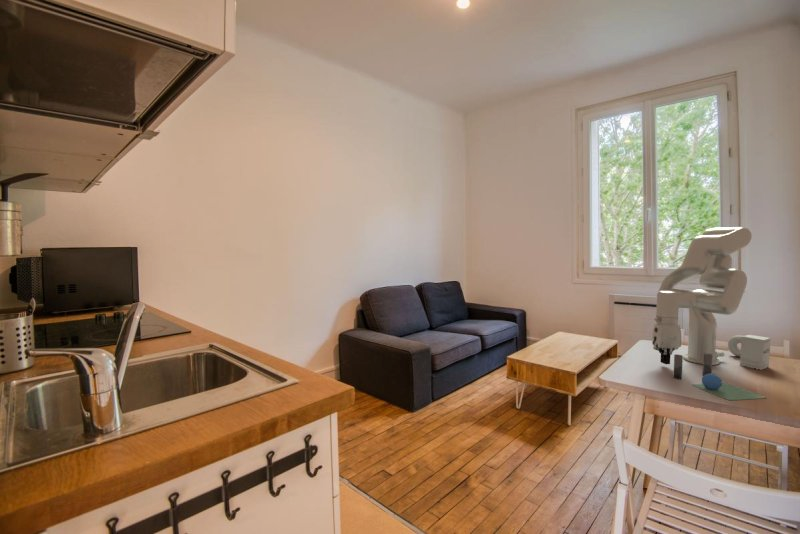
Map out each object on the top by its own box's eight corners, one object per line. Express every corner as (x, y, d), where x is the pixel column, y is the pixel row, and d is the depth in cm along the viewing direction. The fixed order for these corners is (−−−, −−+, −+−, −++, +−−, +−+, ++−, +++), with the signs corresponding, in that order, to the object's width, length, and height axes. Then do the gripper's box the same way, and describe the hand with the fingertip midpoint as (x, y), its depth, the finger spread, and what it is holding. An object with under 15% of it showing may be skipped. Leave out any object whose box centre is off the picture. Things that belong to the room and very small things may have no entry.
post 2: (706, 375, 150) (707, 352, 149) (713, 377, 147) (714, 354, 147) (700, 375, 150) (701, 353, 149) (707, 378, 147) (708, 355, 146)
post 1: (677, 376, 148) (678, 354, 148) (683, 379, 146) (684, 356, 145) (671, 377, 148) (672, 354, 147) (677, 379, 145) (678, 356, 145)
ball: (727, 380, 132) (723, 393, 134) (717, 370, 137) (713, 384, 139) (709, 379, 133) (705, 392, 134) (700, 369, 138) (696, 382, 140)
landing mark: (725, 383, 142) (725, 382, 142) (766, 398, 128) (766, 397, 128) (692, 385, 140) (692, 384, 140) (729, 400, 126) (729, 400, 126)
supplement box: (761, 370, 155) (763, 340, 154) (739, 365, 162) (740, 336, 161) (769, 367, 159) (771, 337, 158) (747, 362, 165) (748, 334, 164)
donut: (755, 360, 169) (757, 337, 168) (750, 360, 168) (751, 338, 167) (730, 353, 178) (731, 332, 178) (725, 354, 177) (726, 333, 177)
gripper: (657, 322, 155) (656, 367, 156) (690, 321, 157) (688, 365, 158) (643, 319, 162) (642, 361, 163) (675, 318, 164) (673, 359, 165)
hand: (665, 363), depth 160 cm, fingers closed
